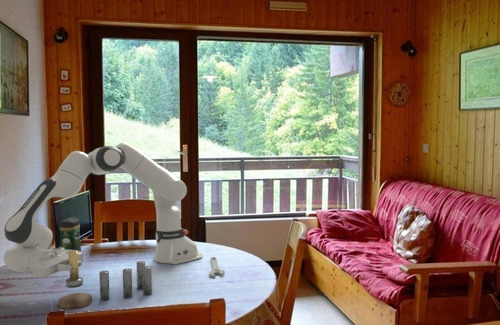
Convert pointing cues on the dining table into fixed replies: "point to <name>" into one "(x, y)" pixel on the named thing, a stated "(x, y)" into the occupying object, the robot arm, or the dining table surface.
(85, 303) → the walnut plate
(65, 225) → the coffee jar
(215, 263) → the adjustable wrench
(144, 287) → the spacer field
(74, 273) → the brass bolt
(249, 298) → the dining table surface
